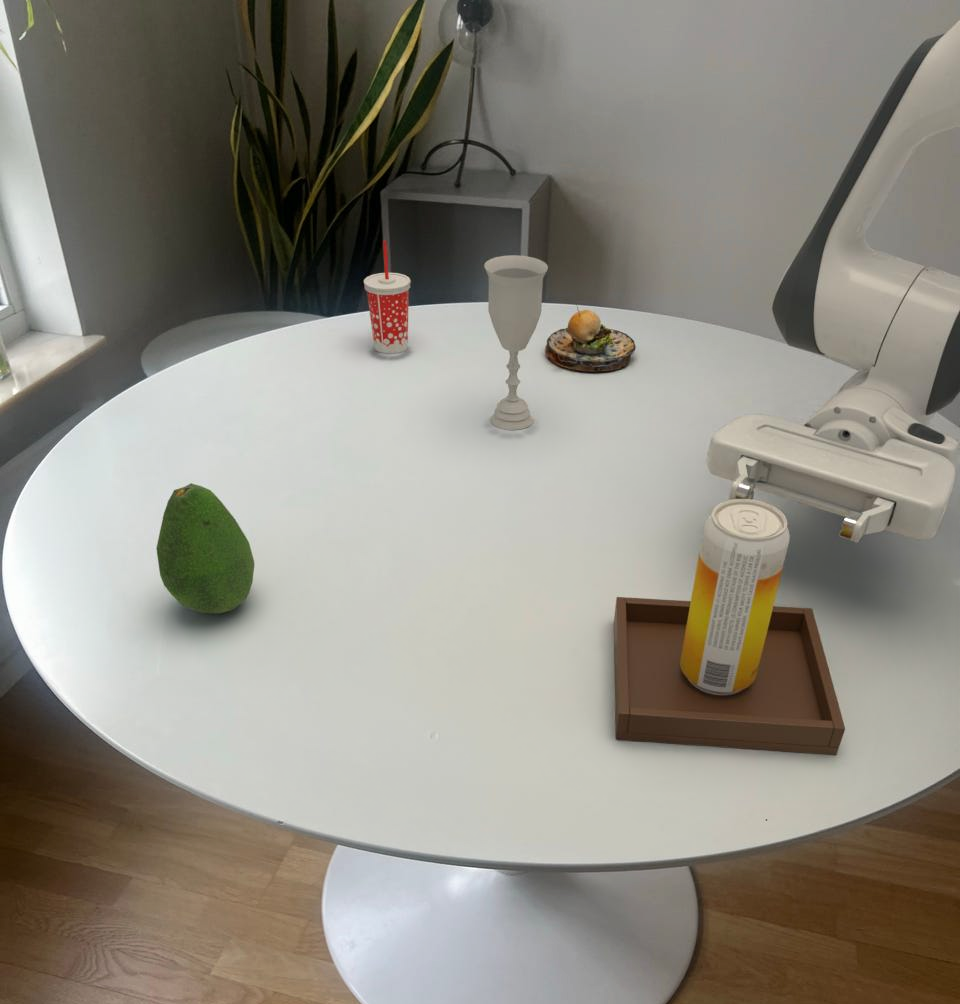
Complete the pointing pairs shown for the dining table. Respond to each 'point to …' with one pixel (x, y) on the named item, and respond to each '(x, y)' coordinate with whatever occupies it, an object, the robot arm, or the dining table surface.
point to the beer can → (733, 595)
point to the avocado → (203, 552)
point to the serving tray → (723, 718)
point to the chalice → (514, 324)
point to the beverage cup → (388, 308)
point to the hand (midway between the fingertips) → (792, 513)
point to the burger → (589, 345)
